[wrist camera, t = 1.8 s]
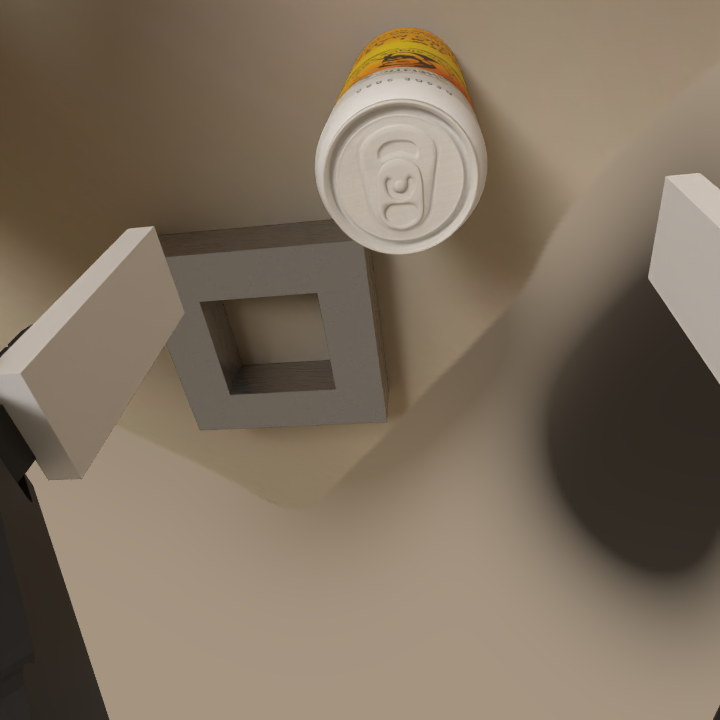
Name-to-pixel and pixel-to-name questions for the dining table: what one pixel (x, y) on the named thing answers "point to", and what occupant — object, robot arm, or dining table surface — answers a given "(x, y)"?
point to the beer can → (402, 146)
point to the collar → (277, 278)
